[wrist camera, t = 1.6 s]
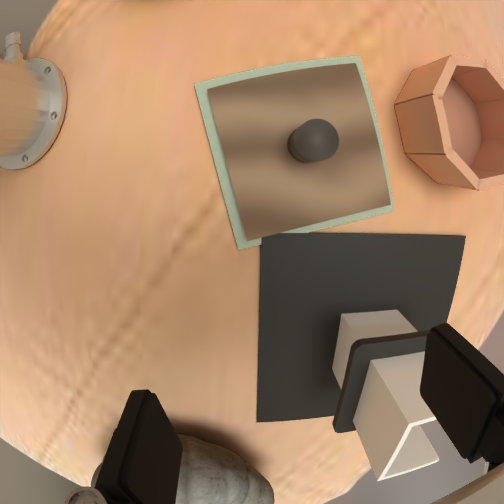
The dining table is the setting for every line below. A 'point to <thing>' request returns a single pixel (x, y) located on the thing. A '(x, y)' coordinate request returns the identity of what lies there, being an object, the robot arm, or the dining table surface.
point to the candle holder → (354, 335)
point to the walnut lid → (299, 148)
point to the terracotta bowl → (455, 122)
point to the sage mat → (220, 157)
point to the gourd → (215, 476)
